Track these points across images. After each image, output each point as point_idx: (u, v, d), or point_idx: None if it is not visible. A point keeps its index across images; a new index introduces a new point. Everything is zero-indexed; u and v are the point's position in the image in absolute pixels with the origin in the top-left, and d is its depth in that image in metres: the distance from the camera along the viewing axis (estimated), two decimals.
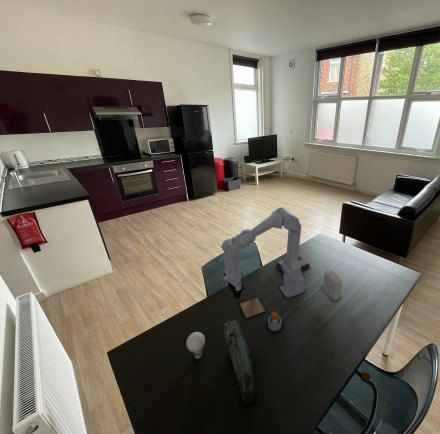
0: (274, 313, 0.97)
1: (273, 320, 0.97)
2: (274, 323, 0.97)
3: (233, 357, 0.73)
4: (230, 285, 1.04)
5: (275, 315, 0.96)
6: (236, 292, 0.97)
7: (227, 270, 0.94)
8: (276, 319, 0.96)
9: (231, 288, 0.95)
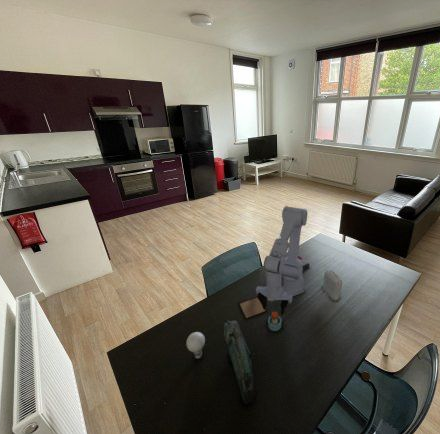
0: (274, 313, 0.97)
1: (273, 320, 0.97)
2: (274, 323, 0.97)
3: (233, 357, 0.73)
4: (265, 306, 0.96)
5: (275, 315, 0.96)
6: None
7: (275, 288, 0.87)
8: (276, 319, 0.96)
9: (283, 304, 0.89)
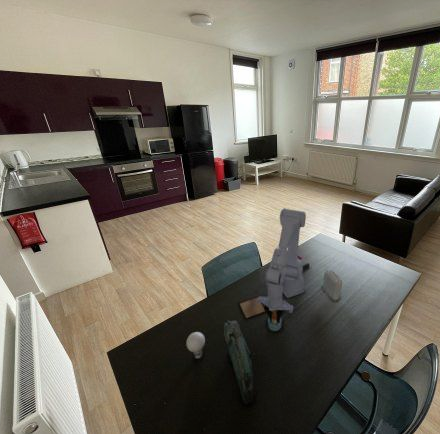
0: (274, 313, 0.97)
1: (273, 320, 0.97)
2: (274, 323, 0.97)
3: (233, 357, 0.73)
4: (271, 317, 0.97)
5: (275, 315, 0.96)
6: None
7: (276, 299, 0.89)
8: (276, 319, 0.96)
9: (279, 312, 0.92)
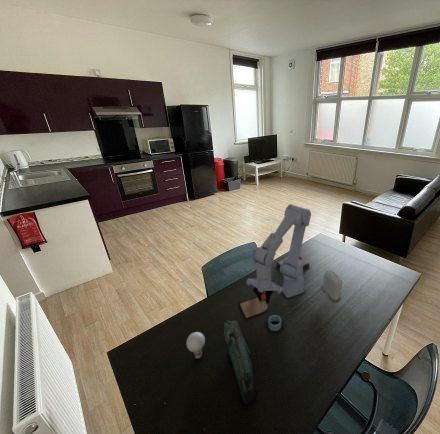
0: (263, 295, 0.98)
1: (262, 302, 0.98)
2: (263, 305, 0.98)
3: (233, 357, 0.73)
4: (260, 298, 0.98)
5: (264, 297, 0.97)
6: None
7: (264, 279, 0.91)
8: (265, 301, 0.98)
9: (267, 293, 0.93)
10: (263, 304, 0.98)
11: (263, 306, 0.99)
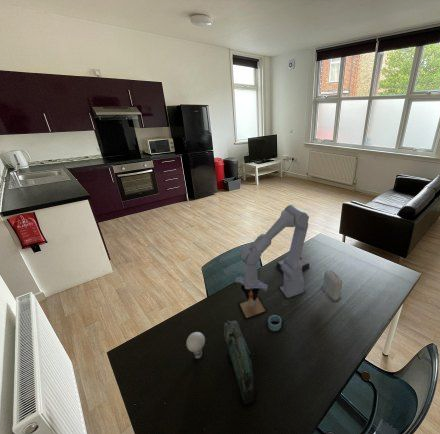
0: (251, 292, 1.04)
1: (250, 299, 1.04)
2: (251, 302, 1.05)
3: (233, 357, 0.73)
4: (248, 296, 1.05)
5: (252, 294, 1.04)
6: None
7: (251, 277, 0.97)
8: None
9: (254, 290, 1.00)
10: (250, 301, 1.05)
11: (250, 303, 1.05)
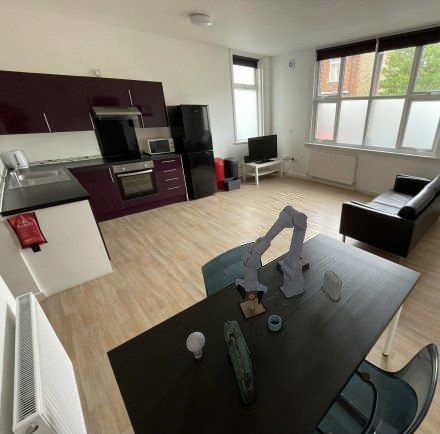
0: (251, 295, 1.05)
1: (250, 302, 1.05)
2: (251, 305, 1.05)
3: (233, 357, 0.73)
4: (244, 296, 1.06)
5: (252, 297, 1.04)
6: None
7: (251, 280, 0.98)
8: (253, 301, 1.05)
9: (259, 294, 0.99)
10: (251, 304, 1.05)
11: (251, 306, 1.06)
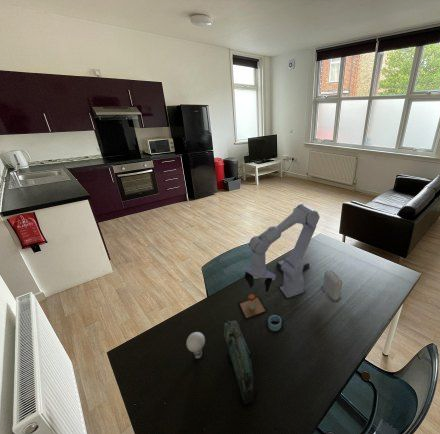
0: (251, 295, 1.05)
1: (250, 302, 1.05)
2: (251, 305, 1.05)
3: (233, 357, 0.73)
4: (251, 284, 1.06)
5: (252, 297, 1.04)
6: None
7: (259, 267, 0.97)
8: (253, 301, 1.05)
9: (267, 281, 0.99)
10: (251, 304, 1.05)
11: (251, 306, 1.06)
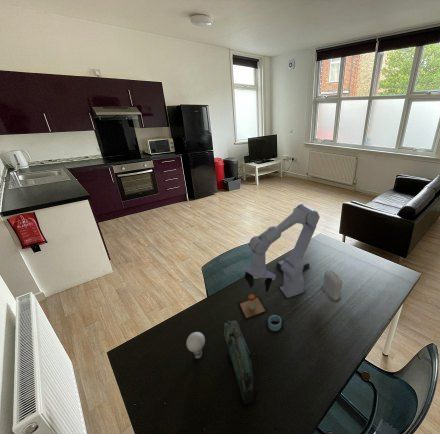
0: (251, 295, 1.05)
1: (250, 302, 1.05)
2: (251, 305, 1.05)
3: (233, 357, 0.73)
4: (251, 284, 1.06)
5: (252, 297, 1.04)
6: None
7: (259, 267, 0.97)
8: (253, 301, 1.05)
9: (267, 281, 0.99)
10: (251, 304, 1.05)
11: (251, 306, 1.06)
